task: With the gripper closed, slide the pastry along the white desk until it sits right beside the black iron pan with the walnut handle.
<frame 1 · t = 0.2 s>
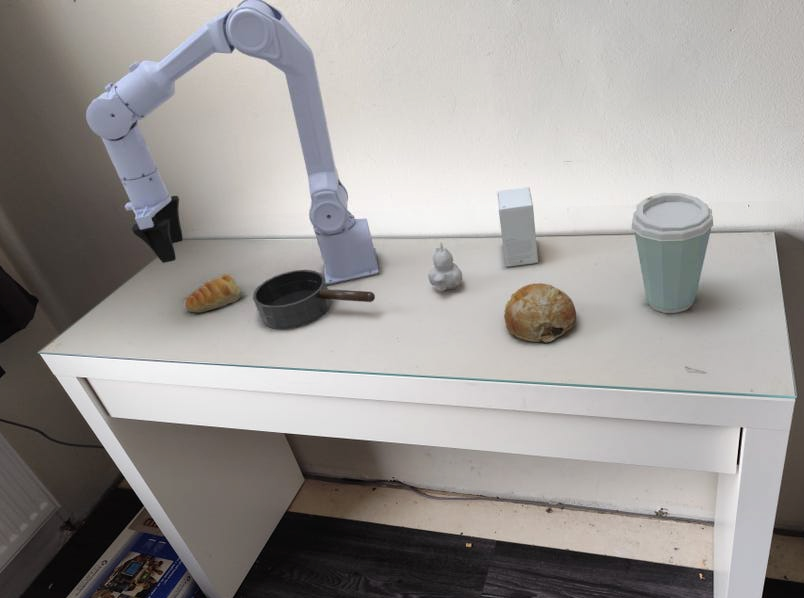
hand: (173, 250, 113), 10 cm above the table, tool pointing down, fingers open, 7 cm apart
disposable coffee cup: (668, 304, 97), on the table
pan handle: (346, 295, 106), point 3 cm above the table
bread roll: (538, 325, 98), on the table
small box: (520, 256, 116), on the table
grey figurine: (447, 289, 110), on the table
pan: (296, 309, 111), on the table
pastry: (219, 302, 118), on the table
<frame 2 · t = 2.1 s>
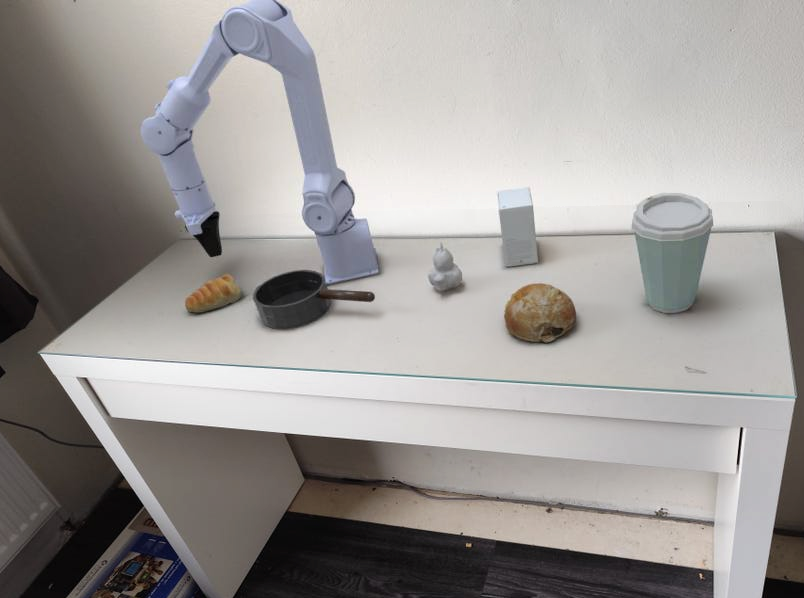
hand: (216, 254, 123), 4 cm above the table, tool pointing down, fingers closed
nothing on the table moved.
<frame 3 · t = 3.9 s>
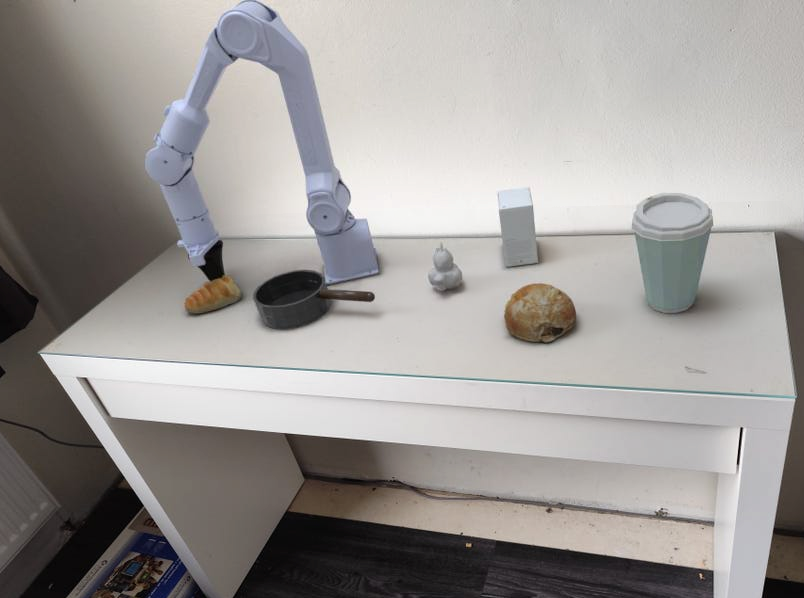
hand: (219, 283, 121), 1 cm above the table, tool pointing down, fingers closed
pastry: (218, 303, 117), on the table, touching gripper
everything else where it was.
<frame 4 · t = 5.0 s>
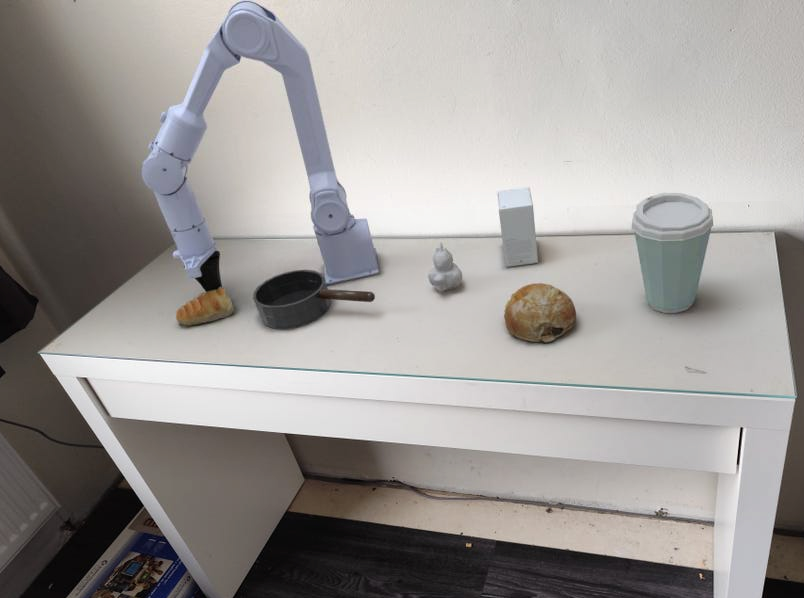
hand: (216, 295, 117), 1 cm above the table, tool pointing down, fingers closed
pastry: (211, 315, 114), on the table, touching gripper
everything else where it was.
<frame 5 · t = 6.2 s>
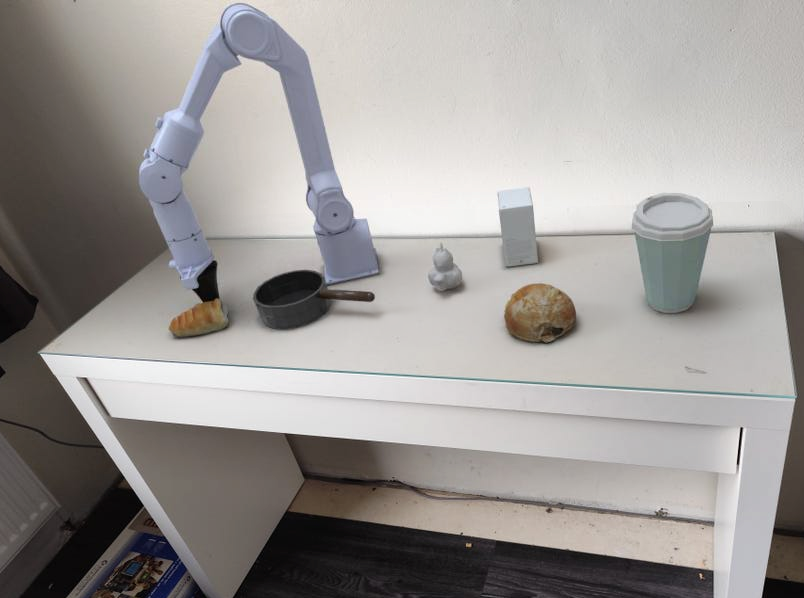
hand: (214, 306, 114), 1 cm above the table, tool pointing down, fingers closed
pastry: (206, 327, 111), on the table, touching gripper
everything else where it was.
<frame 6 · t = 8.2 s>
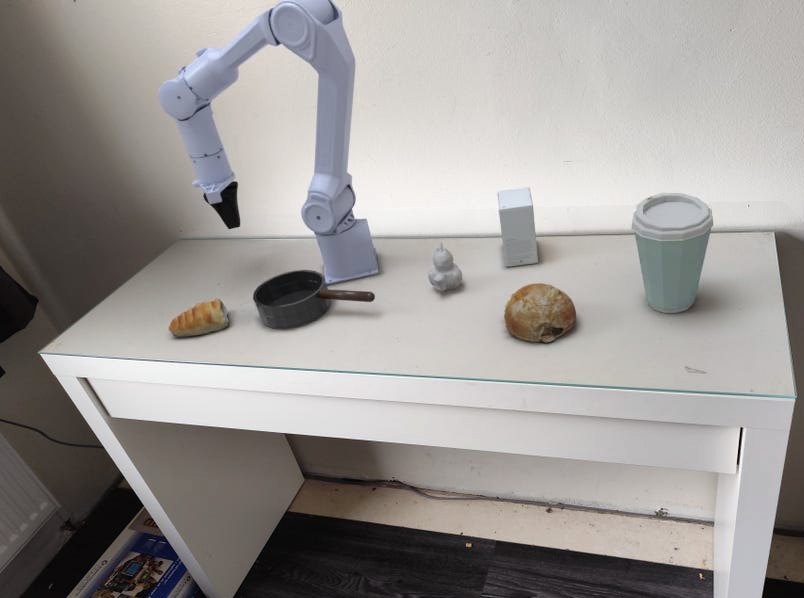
hand: (234, 226, 119), 9 cm above the table, tool pointing down, fingers closed
pastry: (206, 327, 111), on the table
everything else where it was.
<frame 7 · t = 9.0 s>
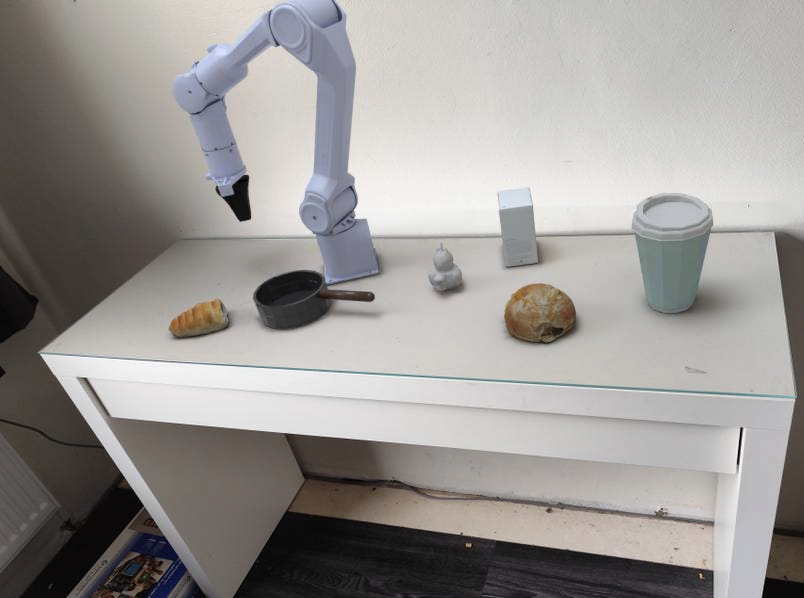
hand: (245, 219, 121), 9 cm above the table, tool pointing down, fingers closed
nothing on the table moved.
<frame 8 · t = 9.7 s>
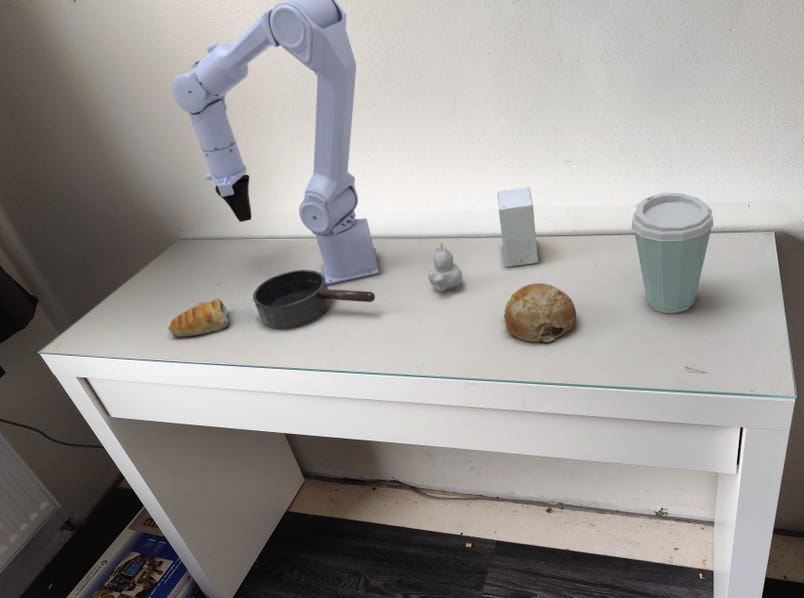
hand: (245, 219, 121), 9 cm above the table, tool pointing down, fingers closed
nothing on the table moved.
at the end: pastry inside the target area on the table beside the pan (1.4 cm from its centre), on the table; pastry tilted 0°; pastry moved 8.0 cm from its start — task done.
